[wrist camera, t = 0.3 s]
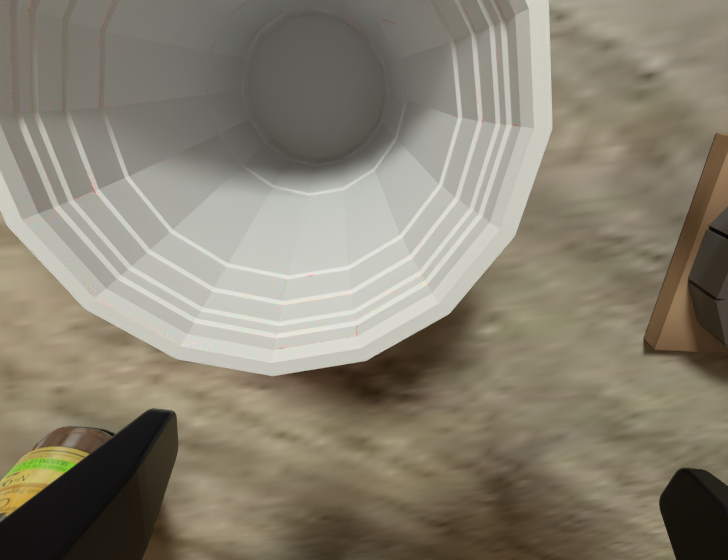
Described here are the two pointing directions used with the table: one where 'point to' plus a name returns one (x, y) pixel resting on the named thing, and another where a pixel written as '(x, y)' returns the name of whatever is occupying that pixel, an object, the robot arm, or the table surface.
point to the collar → (698, 269)
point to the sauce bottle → (47, 464)
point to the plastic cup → (271, 164)
